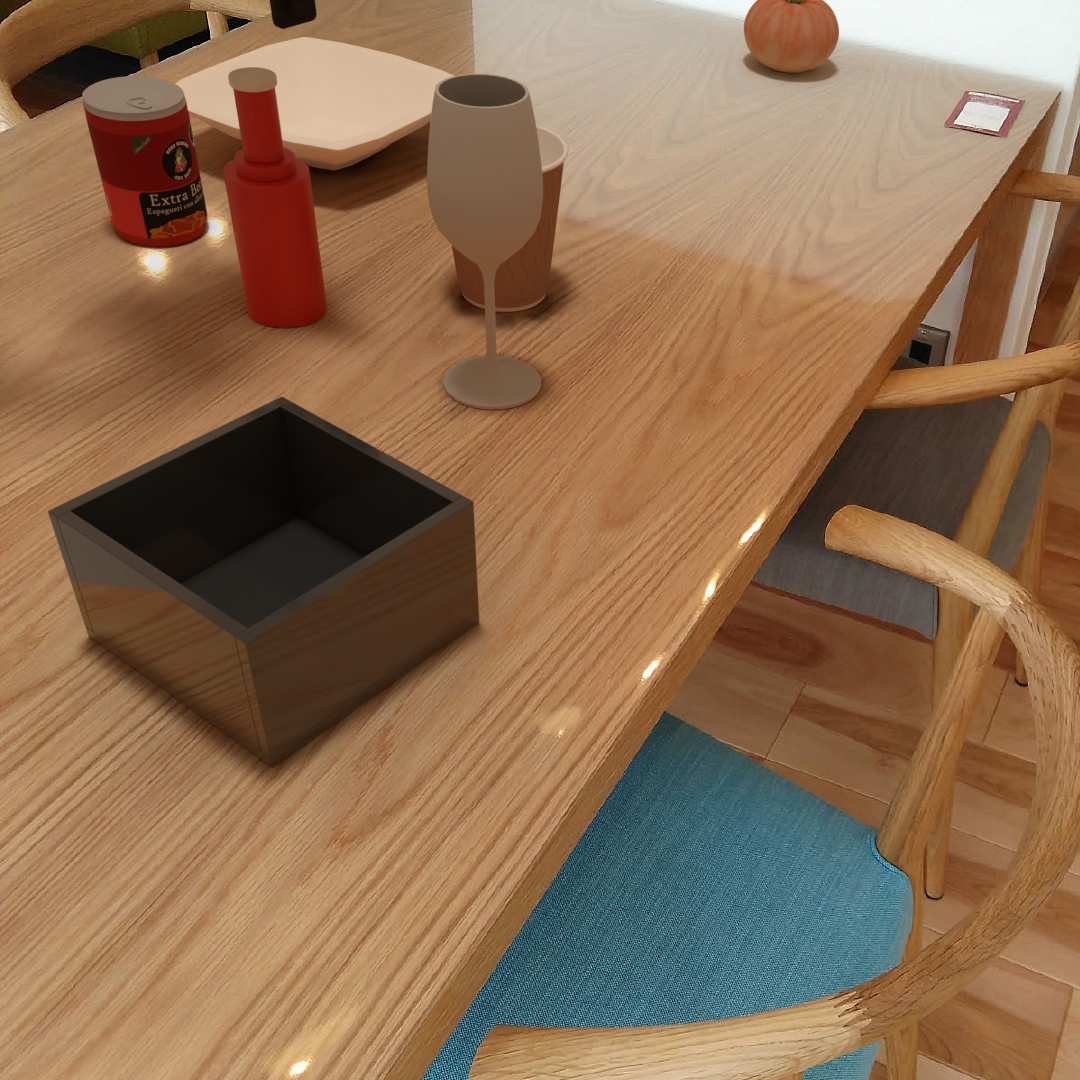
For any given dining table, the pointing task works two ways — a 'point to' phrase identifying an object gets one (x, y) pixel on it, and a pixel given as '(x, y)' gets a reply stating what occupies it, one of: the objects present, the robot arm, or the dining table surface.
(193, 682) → the dark square storage bin
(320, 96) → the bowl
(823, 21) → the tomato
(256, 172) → the bottle
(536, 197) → the wineglass
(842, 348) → the dining table surface
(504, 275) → the coffee cup
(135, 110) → the canned food
